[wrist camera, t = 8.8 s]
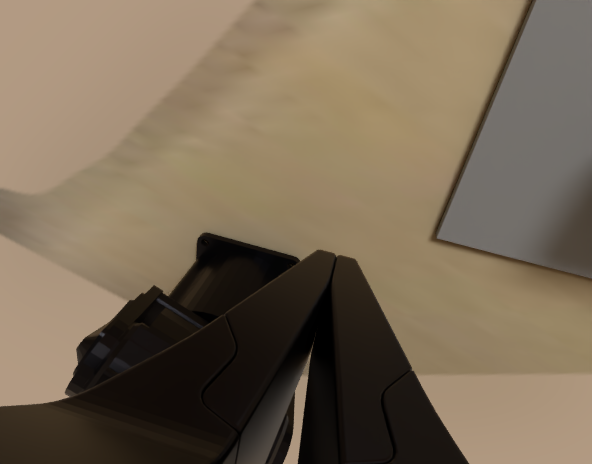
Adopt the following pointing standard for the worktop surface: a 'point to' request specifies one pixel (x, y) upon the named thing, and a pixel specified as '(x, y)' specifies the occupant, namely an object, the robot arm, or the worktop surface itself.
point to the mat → (534, 149)
